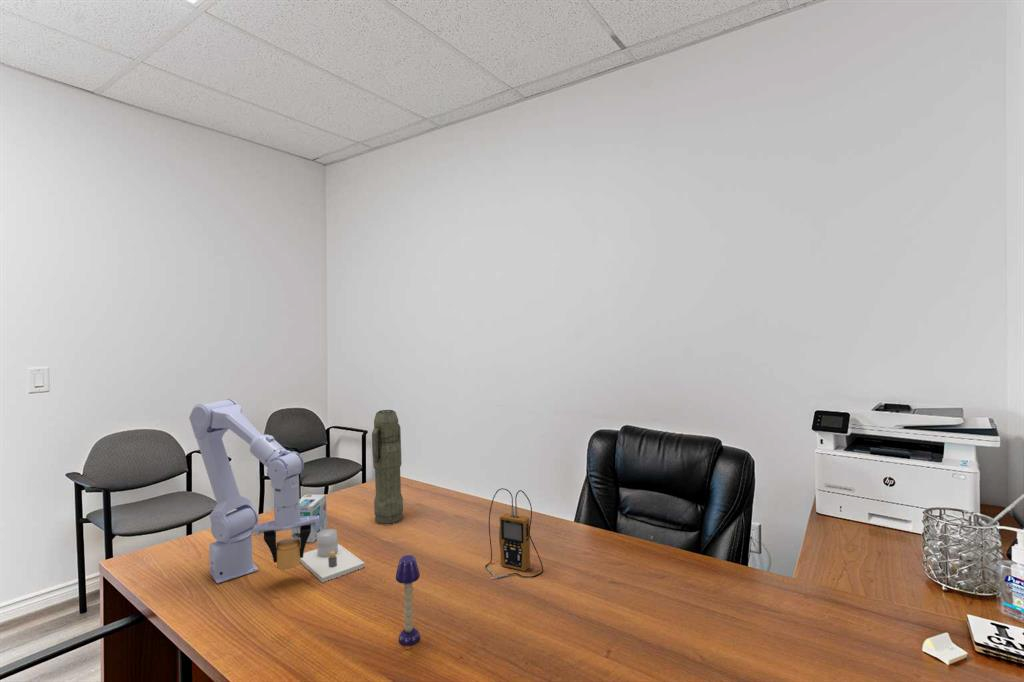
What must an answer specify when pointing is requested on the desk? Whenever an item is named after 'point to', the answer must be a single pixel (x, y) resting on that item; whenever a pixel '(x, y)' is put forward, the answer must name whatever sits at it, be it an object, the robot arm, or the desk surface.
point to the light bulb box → (312, 514)
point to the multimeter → (514, 540)
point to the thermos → (387, 467)
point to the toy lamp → (408, 598)
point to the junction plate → (330, 557)
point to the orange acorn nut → (288, 553)
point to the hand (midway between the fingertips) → (288, 558)
